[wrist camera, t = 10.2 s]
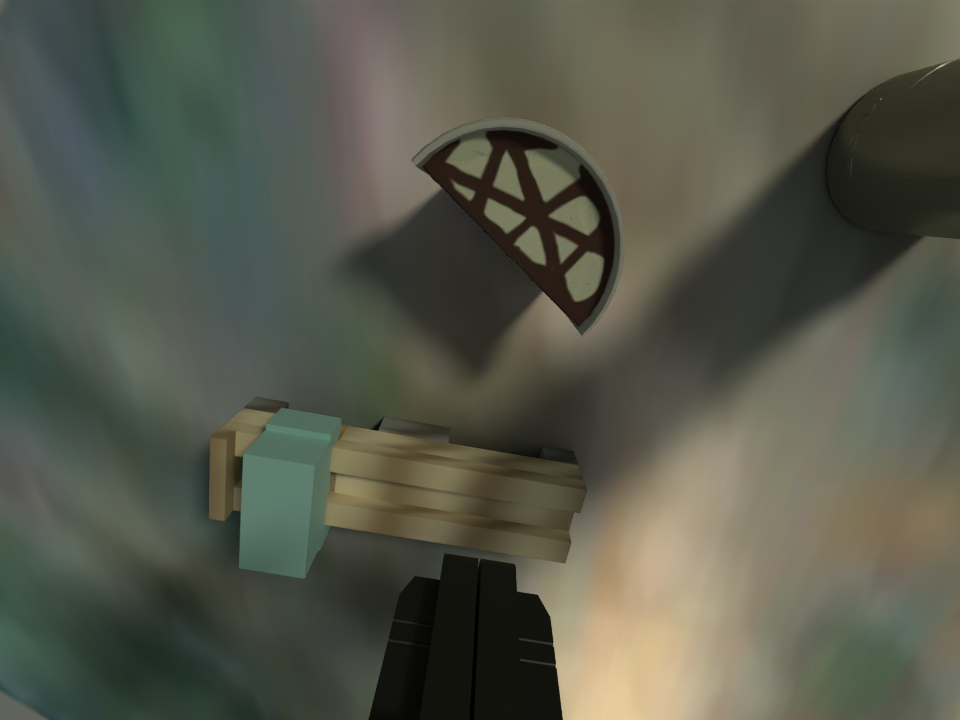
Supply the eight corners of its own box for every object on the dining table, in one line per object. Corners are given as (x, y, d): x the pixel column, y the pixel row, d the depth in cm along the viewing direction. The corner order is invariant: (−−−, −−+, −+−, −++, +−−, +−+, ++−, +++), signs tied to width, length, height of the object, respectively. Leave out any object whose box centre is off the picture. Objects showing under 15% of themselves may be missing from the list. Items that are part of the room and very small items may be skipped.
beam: (573, 449, 38) (591, 498, 31) (554, 519, 40) (567, 578, 33) (256, 394, 36) (210, 434, 30) (252, 469, 38) (208, 521, 32)
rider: (341, 418, 33) (315, 459, 28) (330, 527, 36) (304, 583, 30) (281, 407, 33) (243, 447, 27) (274, 518, 35) (238, 573, 30)
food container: (629, 237, 33) (689, 254, 23) (560, 302, 34) (590, 344, 25) (498, 90, 30) (504, 41, 20) (429, 167, 31) (405, 155, 22)
